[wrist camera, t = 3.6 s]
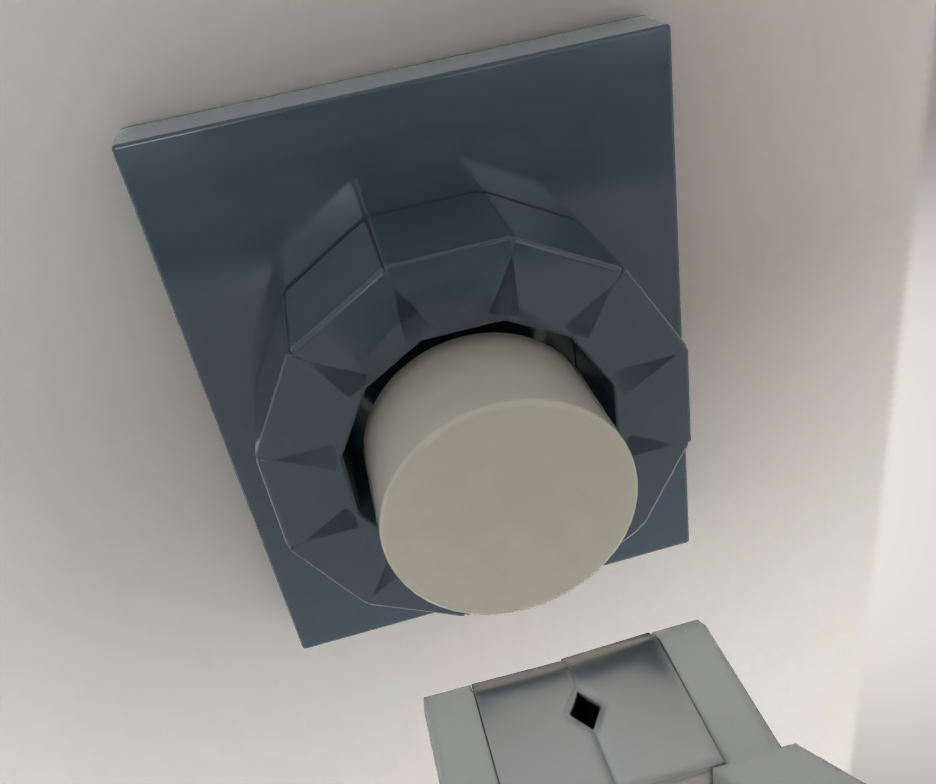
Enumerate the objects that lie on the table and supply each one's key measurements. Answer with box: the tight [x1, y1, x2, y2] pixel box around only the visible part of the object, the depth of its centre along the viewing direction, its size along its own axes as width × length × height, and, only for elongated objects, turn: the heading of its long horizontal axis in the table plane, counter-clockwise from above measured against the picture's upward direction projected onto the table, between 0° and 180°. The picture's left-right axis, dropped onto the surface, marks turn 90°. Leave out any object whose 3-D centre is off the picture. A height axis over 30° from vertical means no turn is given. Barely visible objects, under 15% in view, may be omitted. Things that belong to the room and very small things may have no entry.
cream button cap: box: [363, 332, 638, 615], centre depth 13 cm, size 4×4×2 cm
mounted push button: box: [112, 15, 691, 648], centre depth 14 cm, size 10×8×3 cm
